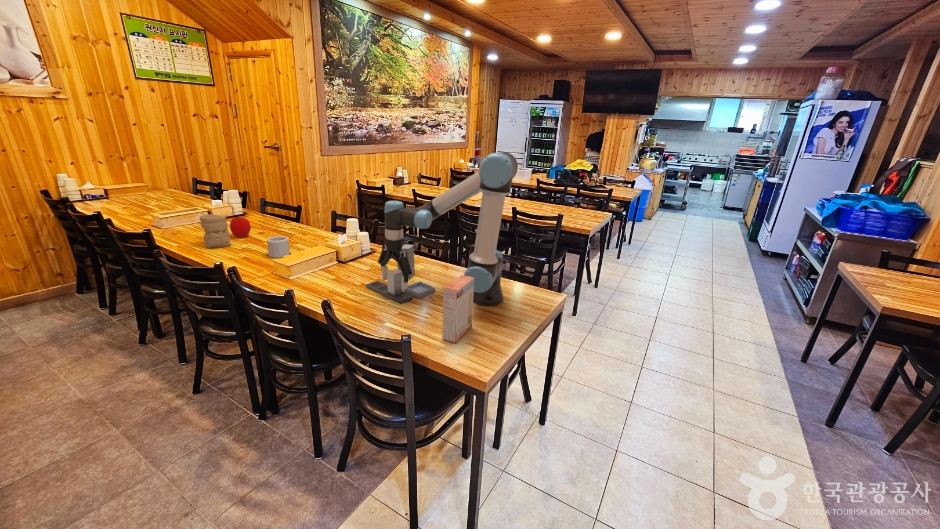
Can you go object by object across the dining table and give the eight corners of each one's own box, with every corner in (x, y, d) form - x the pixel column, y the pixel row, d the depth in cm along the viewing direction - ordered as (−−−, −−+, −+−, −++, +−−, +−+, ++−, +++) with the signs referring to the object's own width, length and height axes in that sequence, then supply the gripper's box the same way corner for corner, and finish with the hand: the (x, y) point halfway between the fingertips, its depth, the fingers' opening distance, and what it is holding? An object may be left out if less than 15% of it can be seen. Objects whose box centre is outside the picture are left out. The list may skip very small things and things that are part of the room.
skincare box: (409, 279, 185) (409, 249, 180) (396, 277, 187) (395, 247, 181) (415, 273, 193) (415, 244, 188) (402, 271, 194) (402, 243, 189)
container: (217, 242, 224) (211, 213, 218) (236, 244, 223) (231, 214, 217) (200, 248, 213) (193, 217, 207) (220, 250, 211) (214, 219, 205)
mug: (294, 255, 210) (292, 238, 207) (276, 259, 202) (273, 242, 198) (280, 250, 217) (278, 233, 213) (262, 254, 208) (259, 237, 205)
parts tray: (435, 292, 172) (435, 287, 171) (418, 298, 165) (418, 293, 164) (420, 285, 178) (420, 281, 177) (403, 291, 171) (403, 286, 170)
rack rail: (413, 299, 164) (413, 296, 163) (400, 304, 158) (400, 300, 158) (378, 283, 178) (378, 280, 178) (366, 287, 173) (365, 284, 173)
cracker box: (458, 323, 146) (461, 273, 139) (472, 327, 143) (475, 277, 136) (440, 339, 134) (442, 286, 127) (455, 344, 131) (458, 290, 124)
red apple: (226, 238, 233) (222, 217, 228) (240, 233, 244) (237, 213, 239) (243, 240, 231) (239, 219, 226) (256, 235, 242) (253, 215, 238)
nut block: (402, 296, 166) (402, 271, 162) (394, 299, 163) (394, 274, 159) (396, 293, 169) (395, 268, 165) (387, 296, 165) (387, 271, 161)
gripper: (420, 243, 152) (420, 290, 159) (383, 230, 167) (383, 274, 174) (406, 246, 146) (406, 295, 154) (368, 233, 161) (370, 278, 168)
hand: (394, 284), depth 164 cm, fingers open, 13 cm apart
